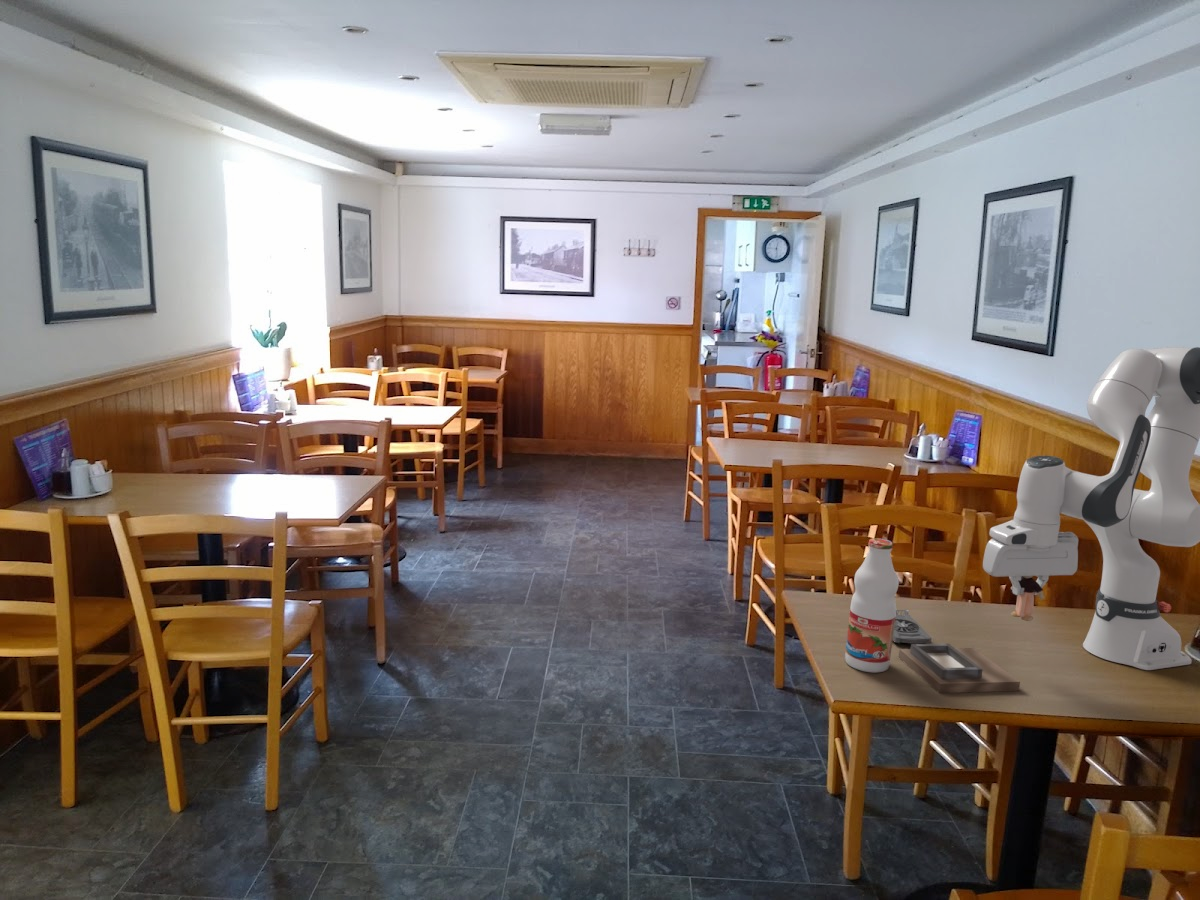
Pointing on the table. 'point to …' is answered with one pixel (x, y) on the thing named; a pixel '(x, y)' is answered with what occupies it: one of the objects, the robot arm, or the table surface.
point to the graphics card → (908, 630)
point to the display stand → (957, 669)
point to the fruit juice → (873, 610)
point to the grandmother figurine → (1027, 598)
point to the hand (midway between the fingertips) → (1026, 594)
